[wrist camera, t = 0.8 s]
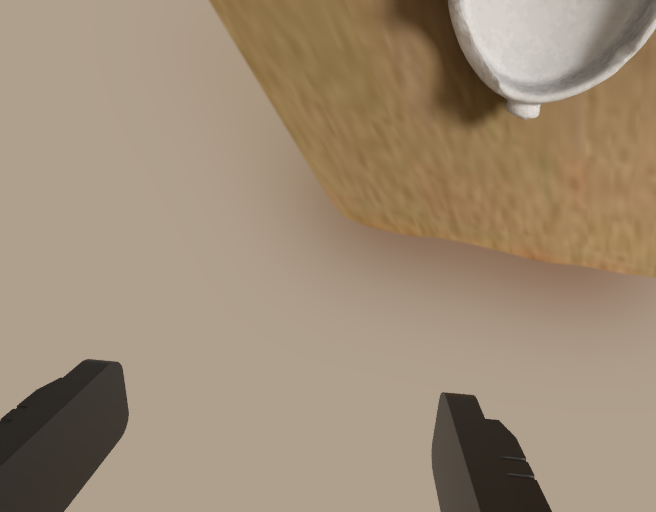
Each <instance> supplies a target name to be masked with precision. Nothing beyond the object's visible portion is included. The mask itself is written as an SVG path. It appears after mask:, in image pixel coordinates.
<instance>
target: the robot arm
mask: <svg viewBox="0 0 656 512" xmlns="http://www.w3.org/2000/svg"><path fill="white" fill-rule="evenodd" d="M128 414H129V412H128V404H127V397H126V390H125V382H124V375H123V369H122V366H121V364H120V363H119V362H114V361H103V360H92V359H87V360H84V361H82V362H81V363H80V364H79V365H78V366H76V367H75V368H74V369H73V370H72V371H70V372H69V373H68V374H67V375H66V376H64V377H63V378H59V379H57V380H55V381H53V382H51V383H49V384H47V385H45V386H43V387H41V388H39V389H38V390H36V391H35V392H34V393H32V394H31V395H30V396H29V397H27V398H26V399H25V400H24V401H22V402H21V403H20V404H19V405H17V408H16V409H12V410H11V411H10V412H9V413H7V414H6V415H5V416H4V417H3V418H2V419H1V421H0V512H64V511H65V509H66V508H67V507H68V506H69V504H70V503H71V502H72V500H73V499H74V498H75V497H76V495H77V494H78V493H79V491H80V490H81V489H82V488H83V486H84V485H85V484H86V482H87V481H88V480H89V479H90V477H91V476H92V475H93V473H94V472H95V471H96V470H97V468H98V467H99V466H100V464H101V463H102V462H103V461H104V459H105V458H106V457H107V455H108V454H109V453H110V452H111V450H112V449H113V448H114V446H115V445H116V444H117V442H118V441H119V440H120V438H121V437H122V435H123V434H124V431H125V429H126V426H127V422H128V416H129V415H128ZM432 469H433V475H434V480H435V484H436V490H437V495H438V500H439V505H440V510H441V512H552V511H551V509H550V507H549V505H548V503H547V501H546V498H545V496H544V494H543V492H542V490H541V488H540V486H539V484H538V482H537V480H535V479H534V474H533V472H532V470H531V468H530V466H529V464H528V462H526V457H525V455H524V453H523V451H522V449H521V447H520V445H519V443H518V441H517V439H516V437H515V436H514V435H513V434H512V433H511V432H510V431H509V430H508V429H507V428H506V427H505V426H504V425H503V424H502V423H501V422H500V421H499V420H491V419H485V418H484V415H483V413H482V410H481V408H480V406H479V403H478V401H477V399H476V397H475V396H474V395H466V394H455V393H441V395H440V399H439V405H438V411H437V417H436V423H435V430H434V436H433V443H432Z"/></svg>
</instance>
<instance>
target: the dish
mask: <svg viewBox="0 0 656 512" xmlns="http://www.w3.org/2000/svg"><path fill="white" fill-rule="evenodd" d="M448 8H449V14H450V18H451V22H452V25H453V28H454V31H455V35H456V38H457V40H458V43H459V45H460V48H461V49H462V51H463V53H464V55H465V57H466V59H467V61H468V62H469V64H470V66H471V67H472V68H473V70H474V71H475V72H476V74H477V75H478V76H479V78H480V79H481V80H482V81H483V82H484V83H485V84H486V85H487V86H488V87H489V88H491V89H492V90H493V91H494V92H496V93H497V94H499V95H501V96H502V97H504V98H506V99H507V101H506V103H505V109H506V110H507V111H509V112H510V113H511V114H513V115H514V116H517V117H519V118H521V119H532V118H536V117H537V116H538V115H539V112H540V106H541V104H543V103H549V102H554V101H558V100H562V99H565V98H568V97H571V96H574V95H577V94H579V93H582V92H584V91H586V90H588V89H590V88H592V87H594V86H595V85H597V84H599V83H601V82H602V81H604V80H606V79H607V78H609V77H610V76H612V75H613V74H615V73H616V72H617V71H618V70H619V69H620V68H621V67H622V66H623V65H624V64H625V63H626V62H627V61H628V60H629V59H630V58H631V57H632V56H634V55H635V54H636V52H637V51H638V50H639V49H640V48H641V47H642V46H643V45H644V44H645V42H646V41H647V40H648V38H649V37H650V36H651V34H652V33H653V32H654V30H655V28H656V0H448Z"/></svg>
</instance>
